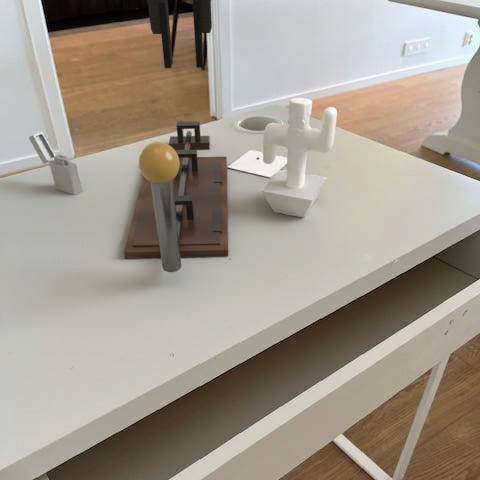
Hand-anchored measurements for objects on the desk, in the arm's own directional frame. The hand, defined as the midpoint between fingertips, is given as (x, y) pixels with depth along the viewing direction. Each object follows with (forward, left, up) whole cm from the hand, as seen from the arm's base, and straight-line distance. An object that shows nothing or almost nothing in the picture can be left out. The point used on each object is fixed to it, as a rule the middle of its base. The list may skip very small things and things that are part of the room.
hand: (184, 64), depth 60 cm
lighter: (-9, -21, -20) cm, 30 cm away
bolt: (-3, -2, -18) cm, 18 cm away
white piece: (-16, +10, -20) cm, 27 cm away
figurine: (-1, +14, -20) cm, 24 cm away
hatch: (-3, -2, -20) cm, 20 cm away
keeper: (-24, -2, -20) cm, 31 cm away
